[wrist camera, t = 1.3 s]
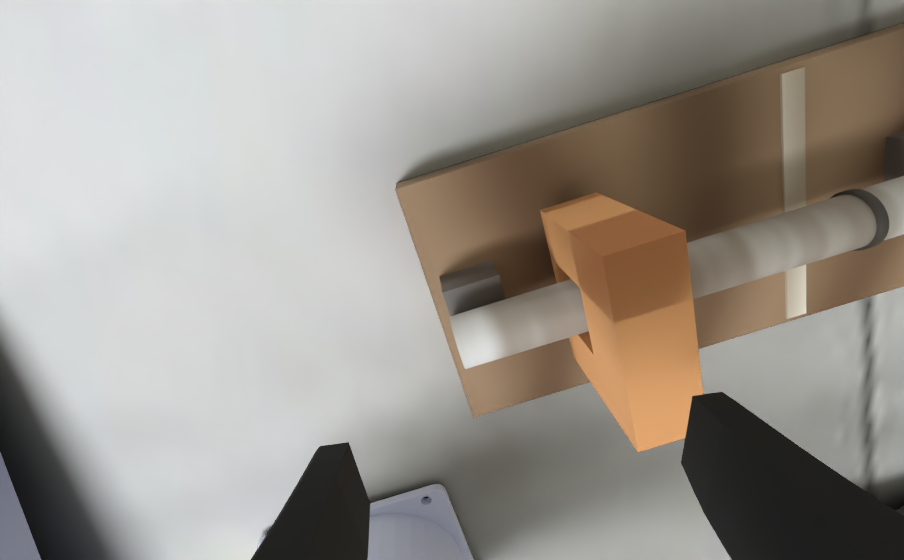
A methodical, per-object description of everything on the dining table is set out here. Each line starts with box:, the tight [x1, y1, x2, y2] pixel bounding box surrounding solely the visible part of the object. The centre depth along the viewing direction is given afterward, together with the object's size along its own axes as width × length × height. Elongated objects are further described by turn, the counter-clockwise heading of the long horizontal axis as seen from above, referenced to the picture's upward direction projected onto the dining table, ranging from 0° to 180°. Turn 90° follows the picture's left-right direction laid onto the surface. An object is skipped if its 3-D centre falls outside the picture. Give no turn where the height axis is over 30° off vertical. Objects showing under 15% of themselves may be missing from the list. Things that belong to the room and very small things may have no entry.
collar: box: [540, 192, 703, 452], centre depth 14 cm, size 2×6×5 cm, turn 16°
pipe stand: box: [395, 23, 904, 418], centre depth 16 cm, size 20×10×5 cm, turn 107°
